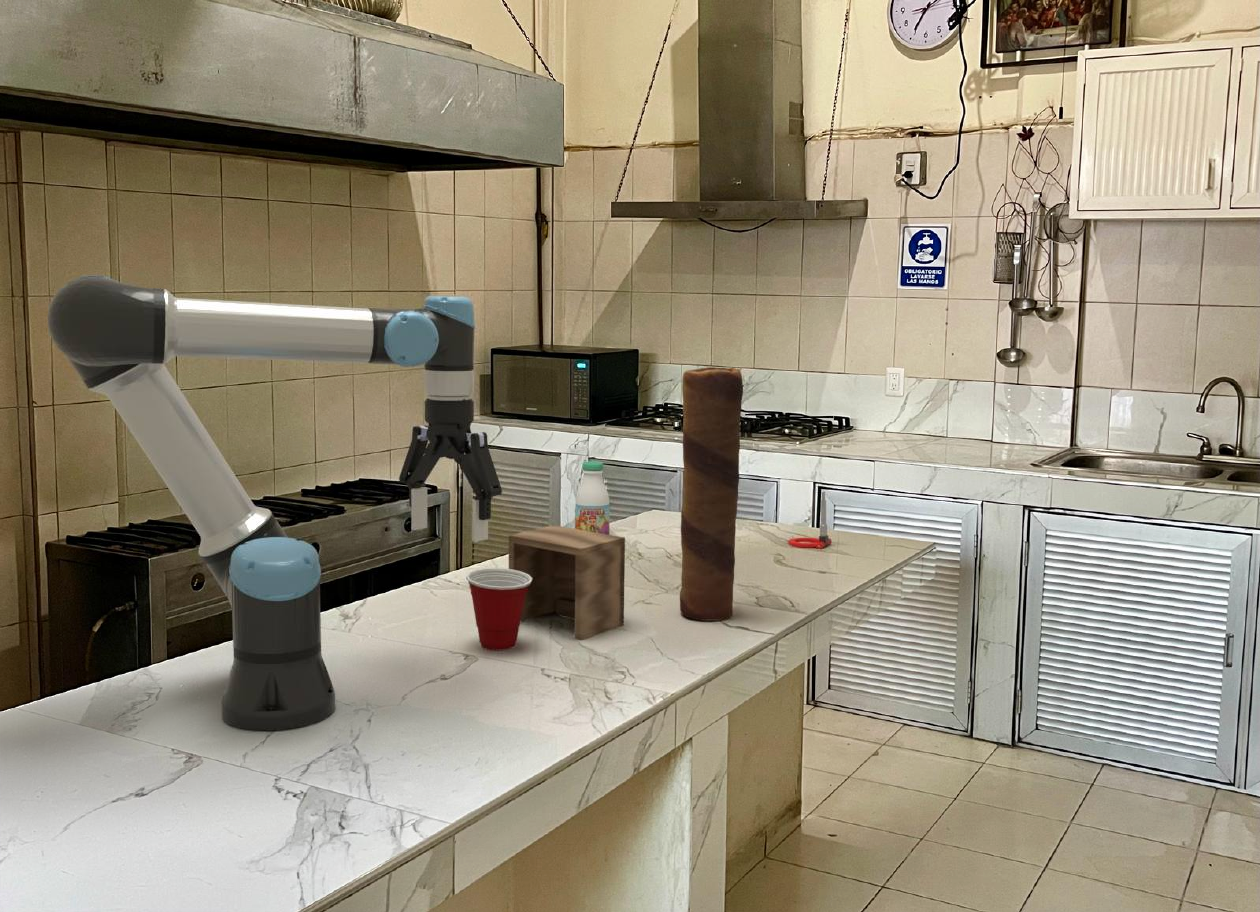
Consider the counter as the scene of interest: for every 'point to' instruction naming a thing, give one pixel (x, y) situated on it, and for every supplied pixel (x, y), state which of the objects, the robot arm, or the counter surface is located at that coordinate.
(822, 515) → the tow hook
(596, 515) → the milk bottle
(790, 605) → the counter surface
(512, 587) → the plastic cup
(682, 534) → the wafer roll
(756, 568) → the counter surface
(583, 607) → the open wooden crate
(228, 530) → the robot arm
